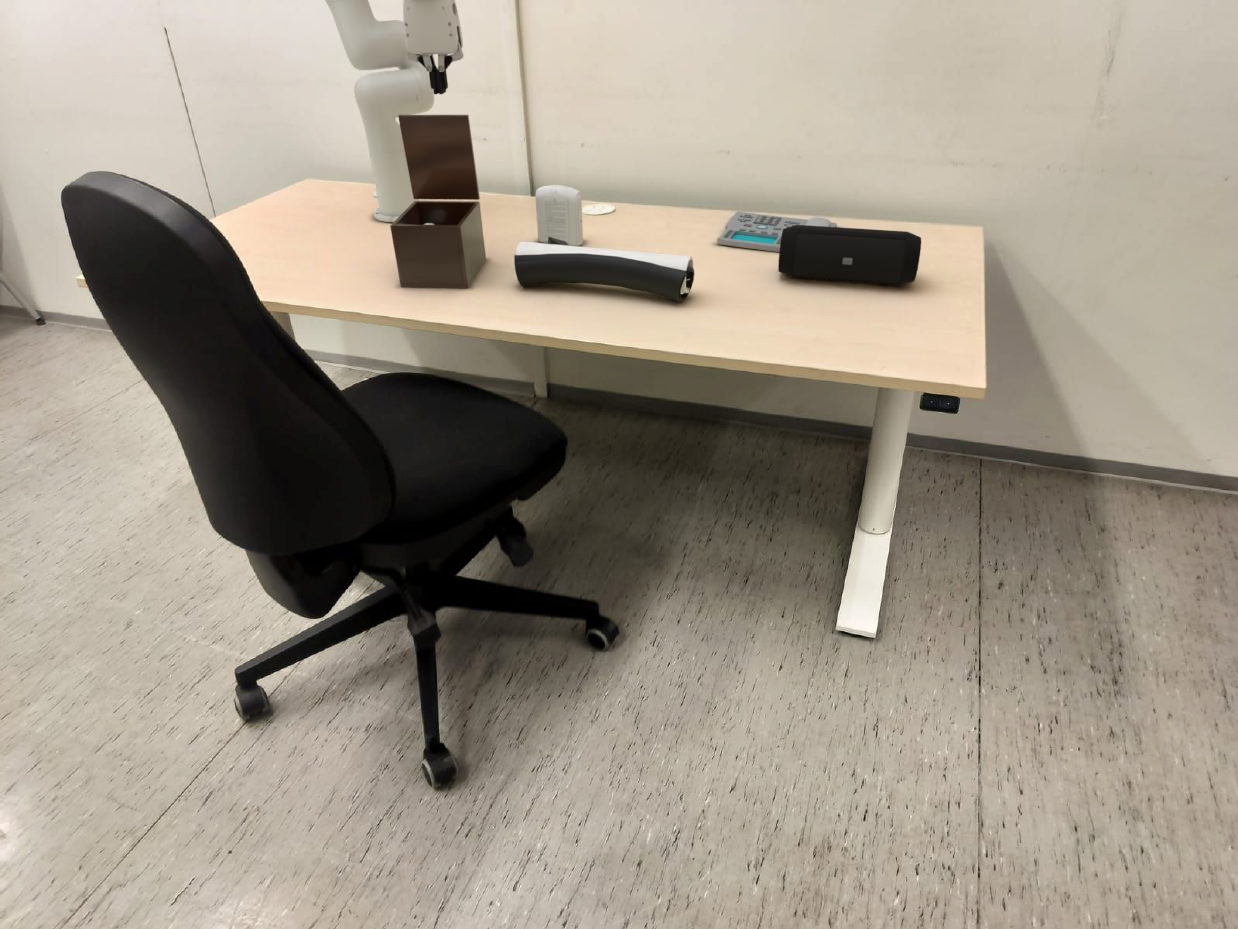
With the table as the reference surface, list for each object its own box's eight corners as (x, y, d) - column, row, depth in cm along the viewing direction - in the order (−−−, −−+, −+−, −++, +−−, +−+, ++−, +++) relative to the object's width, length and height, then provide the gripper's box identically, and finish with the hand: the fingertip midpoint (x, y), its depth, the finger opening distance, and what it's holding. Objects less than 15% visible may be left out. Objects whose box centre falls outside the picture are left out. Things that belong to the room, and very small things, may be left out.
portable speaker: (776, 284, 165) (780, 233, 159) (781, 265, 173) (785, 217, 167) (913, 294, 159) (923, 242, 154) (912, 275, 167) (921, 225, 162)
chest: (468, 288, 166) (460, 226, 159) (400, 287, 168) (390, 225, 161) (486, 259, 179) (479, 201, 172) (423, 258, 180) (414, 200, 174)
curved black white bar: (691, 316, 161) (705, 254, 165) (685, 291, 152) (699, 226, 156) (520, 298, 170) (537, 240, 174) (505, 273, 161) (523, 212, 165)
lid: (467, 115, 161) (468, 114, 162) (398, 115, 163) (399, 114, 163) (478, 199, 172) (479, 198, 172) (413, 199, 173) (414, 197, 174)
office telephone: (838, 216, 190) (820, 245, 175) (836, 228, 192) (819, 258, 176) (737, 205, 198) (712, 232, 182) (736, 216, 199) (711, 244, 184)
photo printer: (586, 241, 187) (583, 184, 181) (579, 247, 184) (576, 190, 177) (542, 237, 190) (538, 181, 183) (535, 243, 187) (531, 186, 180)
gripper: (471, -17, 158) (482, 89, 168) (393, -17, 160) (409, 89, 170) (461, -14, 152) (472, 96, 162) (380, -13, 153) (397, 96, 164)
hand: (440, 92), depth 166 cm, fingers closed
